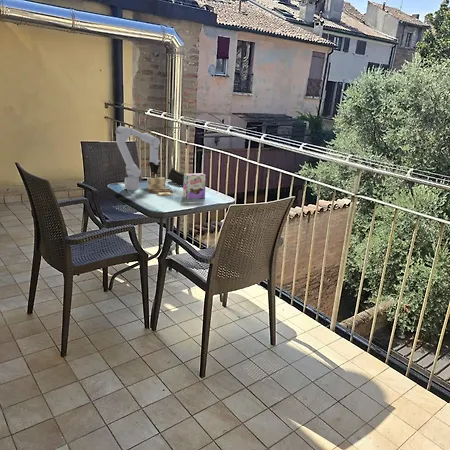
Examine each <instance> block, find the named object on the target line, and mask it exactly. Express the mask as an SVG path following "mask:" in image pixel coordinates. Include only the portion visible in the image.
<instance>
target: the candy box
mask: <svg viewBox="0 0 450 450" xmlns="http://www.w3.org/2000/svg"><path fill="white" fill-rule="evenodd" d="M183 174H184V185H183V186H182V189H183V190H182V191H183V192H182V197H183V198H185V199H186V200H187V199H199V200H202V199H206V198H205V197H206V179H207V175H206V174H205V173H197V172H196V173H183Z"/></svg>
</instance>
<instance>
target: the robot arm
mask: <svg viewBox="0 0 450 450" xmlns="http://www.w3.org/2000/svg"><path fill="white" fill-rule="evenodd" d="M131 136H135V137H137V138H140V139H141V141H142V142H145V143H148V144H149V148H150V149H149V152H150V153H149V162H148V165H149V168H150V172H151V173H153V175H157V174H158V171H159V169H160V166H161V164H159V163H160V161H161V160H160V159H159V148H160V145H161V144H160V143H161V141H160V139H159V137H156V136H154V135H152V134H149V132H143V133H142V132H140V131H138V130H137V129H134V128H132V127H128V126H122V125H119V126H117V128H116V129H115V139H116V140H115V142H116V144H117V147H118V150H119V152H120V154H121V156H122V158H123V161H124V163H125V165H126V166H125V172H126V175H127V177H126V176H125V178H124V189H125V188H126V189H127V190H129V191H138V190H140V184H139V183H140V176H141V174H142V172H141V169H139V167H138V166H137V165H136V163H135V161H134V160H133V158H132V155H131V152H130V151H129V148H128V146H127V143H126V142H127V141H128V139H129V138H130V137H131Z"/></svg>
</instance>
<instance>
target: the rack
mask: <svg viewBox="0 0 450 450" xmlns="http://www.w3.org/2000/svg"><path fill="white" fill-rule="evenodd" d="M163 192H170V193H171V194H172V193H173V194H174V191H173V190H172V189H171V188H165V189H150V190H148V193H150V194H158V193H163Z"/></svg>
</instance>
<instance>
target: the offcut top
mask: <svg viewBox="0 0 450 450" xmlns="http://www.w3.org/2000/svg"><path fill="white" fill-rule="evenodd" d="M157 194H158V195H159V196H158V197H163V196H164V197H165V195H170V196H172V193H170V192H163V193H157Z"/></svg>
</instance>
